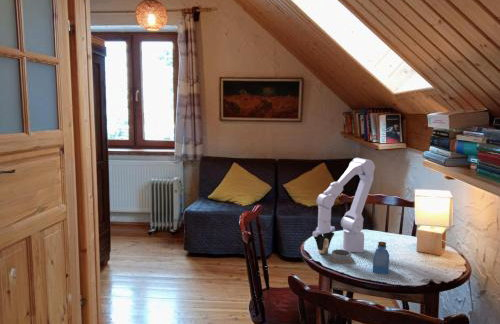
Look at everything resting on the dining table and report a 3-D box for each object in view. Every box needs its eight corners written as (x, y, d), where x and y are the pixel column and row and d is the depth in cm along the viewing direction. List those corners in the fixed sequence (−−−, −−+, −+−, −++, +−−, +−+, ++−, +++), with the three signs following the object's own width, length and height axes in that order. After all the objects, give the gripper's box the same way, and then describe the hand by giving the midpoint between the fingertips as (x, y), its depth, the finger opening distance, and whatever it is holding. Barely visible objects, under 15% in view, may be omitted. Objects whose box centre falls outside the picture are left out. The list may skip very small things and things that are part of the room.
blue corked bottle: (388, 268, 172) (390, 241, 171) (388, 274, 166) (390, 246, 165) (373, 266, 174) (374, 239, 173) (372, 272, 168) (374, 244, 167)
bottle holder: (349, 255, 187) (350, 249, 187) (355, 263, 177) (355, 256, 177) (328, 255, 187) (328, 248, 187) (331, 263, 178) (332, 256, 177)
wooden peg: (327, 250, 192) (327, 238, 191) (328, 253, 187) (329, 241, 186) (317, 250, 192) (318, 237, 191) (319, 253, 187) (319, 240, 186)
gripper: (326, 215, 195) (325, 243, 197) (307, 221, 185) (306, 249, 187) (339, 218, 190) (337, 246, 192) (320, 224, 180) (319, 253, 182)
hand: (323, 248), depth 189 cm, fingers closed on wooden peg, 4 cm apart
